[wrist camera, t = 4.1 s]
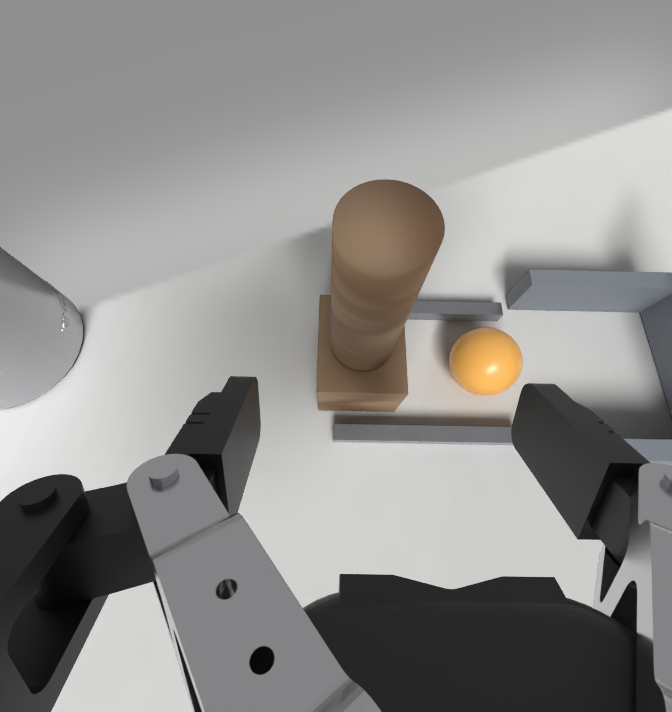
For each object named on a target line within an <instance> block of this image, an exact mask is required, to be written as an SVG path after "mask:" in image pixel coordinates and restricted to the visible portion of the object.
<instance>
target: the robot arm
mask: <svg viewBox="0 0 672 712" xmlns="http://www.w3.org/2000/svg"><path fill="white" fill-rule="evenodd" d="M82 340H83V325H82V320H81V316H80V314H79V312H78V310H77V308H76V307H75V305H74V304H73V303H72V302H71V301H70V300H69V299H68V298H66V297H65V296H64V295H63V294H61V293H60V292H59V291H58V290H56V289H55V288H54V287H53V286H52V285H51V284H49V283H48V282H46V281H44V280H43V279H41V278H40V277H39V276H37V275H36V274H35V273H33V272H32V271H31V270H29V269H28V268H27V267H26V266H24V265H23V264H22V263H20V262H19V261H18V260H16V259H15V258H14V257H12V256H11V255H10V254H8V253H7V252H6V251H4V250H3V249H2V248H1V247H0V409H8V408H12V407H16V406H20V405H23V404H25V403H28V402H30V401H32V400H34V399H36V398H38V397H40V396H41V395H43V394H44V393H46V392H47V391H49V390H50V389H52V388H53V387H54V386H55V385H56V384H57V383H58V382H59V381H60V380H61V379H62V378H63V377H64V376H65V375H66V373H67V372H68V371H69V370H70V368H71V367H72V366H73V364H74V362H75V360H76V358H77V356H78V354H79V351H80V347H81V344H82ZM260 425H261V424H260V407H259V393H258V382H257V378H256V377H238V376H231V377H230V378H229V379H228V381H227V383H226V385H225V387H224V388H223V390H222V392H211V393H210V394H208V395H207V396H206V397H204V398H203V399H201V400H200V401H199V402H198V403H197V405H196V406H195V408H194V409H193V411H192V414H191V415H190V416H189V417H188V419H187V420H186V424H184V425H183V427H182V428H181V430H180V431H179V433H178V435H177V436H176V438H175V439H174V441H173V442H172V444H171V446H170V447H169V449H168V450H167V452H166V453H165V455H162V456H159V457H156V458H153V459H151V460H149V461H147V462H145V463H143V464H142V465H140V466H139V467H138V468H137V469H135V470H134V471H133V473H132V474H131V475H130V477H129V479H128V481H127V482H126V483H123V484H119V485H114V486H110V487H105V488H100V489H95V490H90V491H84V488H83V485H82V482H81V481H80V479H78V478H77V477H75V476H72V475H66V474H59V475H51V476H47V477H43V478H39V479H37V480H34V481H31V482H29V483H27V484H25V485H23V486H21V487H19V488H17V489H16V490H14V491H13V492H11V493H10V494H9V495H7V496H6V497H5V498H4V499H3V500H2V501H1V502H0V712H51V710H52V708H53V706H54V704H55V702H56V700H57V698H58V696H59V694H60V692H61V690H62V688H63V686H64V684H65V682H66V680H67V678H68V676H69V674H70V672H71V670H72V668H73V666H74V664H75V662H76V660H77V658H78V656H79V654H80V652H81V650H82V648H83V646H84V644H85V641H86V639H87V637H88V635H89V633H90V631H91V629H92V627H93V625H94V623H95V621H96V619H97V617H98V615H99V613H100V611H101V609H102V607H103V605H104V603H105V601H106V599H107V597H108V595H109V594H111V593H115V592H118V591H122V590H125V589H129V588H132V587H136V586H139V585H143V584H146V583H150V582H153V585H154V588H155V591H156V594H157V598H158V601H159V604H160V607H161V610H162V613H163V616H164V619H165V622H166V625H167V628H168V632H169V635H170V638H171V641H172V644H173V647H174V650H175V653H176V657H177V660H178V663H179V666H180V670H181V673H182V677H183V680H184V683H185V687H186V690H187V693H188V696H189V699H190V703H191V706H192V709H193V712H672V466H670V465H666V464H660V463H650V462H649V461H648V460H647V459H646V458H645V457H643V456H642V455H641V454H640V453H639V452H638V451H637V450H635V449H634V448H633V447H632V446H631V445H630V444H629V443H627V442H626V441H625V440H624V439H623V438H622V437H621V436H619V435H618V434H615V433H614V430H613V429H611V428H610V427H609V426H608V425H607V424H604V422H603V421H602V420H601V419H600V418H599V417H598V416H597V415H595V414H594V413H593V412H592V411H591V410H589V409H587V408H585V407H584V406H582V405H580V404H578V403H576V402H574V401H573V400H572V399H571V398H570V397H569V396H568V395H567V394H565V393H564V392H563V391H562V390H561V389H560V388H559V387H558V386H556V385H555V384H531V383H528V384H526V385H524V387H523V388H522V391H521V394H520V398H519V402H518V405H517V409H516V413H515V416H514V420H513V424H512V429H511V437H512V442H513V445H514V447H515V449H516V450H517V452H518V453H519V455H520V456H521V457H522V459H523V460H524V462H525V463H526V465H527V466H528V468H529V469H530V471H531V472H532V473H533V475H534V476H535V478H536V479H537V481H538V482H539V484H540V485H541V487H542V488H543V489H544V491H545V492H546V494H547V495H548V497H549V498H550V500H551V501H552V503H553V504H554V505H555V507H556V508H557V510H558V511H559V513H560V514H561V516H562V517H563V519H564V520H565V521H566V523H567V524H568V526H569V527H570V529H571V530H572V532H573V533H574V535H575V536H576V537H577V539H592V540H601V541H602V542H603V543H604V545H603V547H602V550H601V552H600V554H599V561H598V569H597V577H596V586H595V594H594V603H593V608H592V607H590V606H587V605H585V604H582V603H580V602H577V601H574V600H571V599H568V598H566V597H565V595H564V594H563V592H562V590H561V588H560V586H559V585H558V583H557V581H556V579H555V577H499V578H495V579H491V580H488V581H484V582H480V583H477V584H473V585H469V586H466V587H462V588H458V589H445V588H441V587H437V586H433V585H430V584H426V583H422V582H418V581H414V580H410V579H407V578H403V577H399V576H395V575H368V574H340V579H339V592H338V593H335V594H331V595H328V596H326V597H323V598H321V599H319V600H316V601H314V602H313V603H311V604H309V605H307V606H306V607H304V608H302V607H301V605H300V604H299V602H298V600H297V599H296V597H295V596H294V594H293V593H292V591H291V590H290V588H289V587H288V585H287V584H286V582H285V580H284V579H283V577H282V576H281V574H280V573H279V571H278V570H277V568H276V567H275V565H274V564H273V562H272V561H271V559H270V557H269V556H268V554H267V553H266V551H265V550H264V548H263V547H262V545H261V544H260V542H259V541H258V539H257V538H256V536H255V534H254V533H253V531H252V530H251V528H250V527H249V525H248V524H247V522H246V521H245V519H244V518H243V517H242V516H241V515H240V514H239V513H237V512H238V509H239V506H240V502H241V499H242V496H243V492H244V489H245V486H246V482H247V479H248V476H249V472H250V469H251V466H252V462H253V459H254V456H255V452H256V449H257V446H258V442H259V437H260Z"/></svg>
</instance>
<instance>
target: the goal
mask: <svg viewBox="0 0 672 712" xmlns="http://www.w3.org/2000/svg"><path fill="white" fill-rule="evenodd" d="M506 298H507V304H508V309H512V310H557V311H602V312H640V315H641V318H642V321H643V325H644V328H645V331H646V334H647V338H648V341H649V344H650V348H651V351H652V354H653V358H654V361H655V364H656V367H657V371H658V374H659V377H660V381H661V384H662V387H663V391H664V394H665V397H666V400H667V404H668V407H669V410H670V414H671V417H672V273H663V272H621V271H579V270H537V269H529V270H528V271H527V272H526V274H525V275H524V276H523V277H522V278H521V279H520V280H519V281H518V283H517V284H516V285H515V286H514V287H513V288H512V289H511V290H510V291H509V293H508V294H507V295H506ZM624 440H625V441H626V442H627V443H629V444H630V445H631V446H632V447H633V448H634V449H635V450H637V451H638V452H639V453H640V454H641V455H642V456H643V457H645V458H646V459H647V460H648V461H649V462H650V463H660V464H666V465H670V466H672V440H667V439H624Z"/></svg>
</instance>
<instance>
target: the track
mask: <svg viewBox="0 0 672 712" xmlns="http://www.w3.org/2000/svg"><path fill="white" fill-rule="evenodd" d="M502 315H503V312H502V306H501V303H494V302H449V301H415V303H414V305H413V307H412V309H411V311H410V314H409V316H408V318H407V319H422V320H467V321H498V320H499V319H500V318H501V316H502ZM511 429H512V427H484V426H427V425H370V424H334V426H333V442H367V443H427V444H486V445H513V442H512V437H511Z"/></svg>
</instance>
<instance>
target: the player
mask: <svg viewBox="0 0 672 712" xmlns="http://www.w3.org/2000/svg"><path fill="white" fill-rule="evenodd" d="M444 231H445V227H444V219H443V216H442V213H441V211H440V209H439V207H438V206H437V204H436V203H435V202H434V200H433V199H432V198H431V197H430V196H429V195H427V194H426V193H425V192H423V191H422V190H420V189H419V188H417V187H415V186H413V185H410V184H408V183H404V182H401V181H396V180H374V181H369V182H366V183H363V184H360V185H358V186H356V187H354V188H353V189H351V190H350V191H348V192H347V193H346V194H345V195H344V196H343V197H342V198H341V199H340V201H339V203H338V204H337V206H336V208H335V211H334V215H333V230H332V286H331V295H320V305H319V335H318V365H317V400H318V409H319V410H325V411H380V412H394V411H395V410H396V408H397V407H398V406H399V405H400V403H401V402H402V401H403V400H404V398H405V397H406V396H407V395H408V382H407V364H406V346H405V328H404V325H405V323H406V320H407V318H408V316H409V314H410V311H411V309H412V307H413V305H414V303H415V300H416V298H417V296H418V294H419V292H420V289H421V287H422V285H423V283H424V281H425V278H426V276H427V274H428V272H429V270H430V267H431V265H432V263H433V261H434V258H435V256H436V254H437V252H438V250H439V247H440V245H441V243H442V240H443V237H444Z"/></svg>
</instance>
